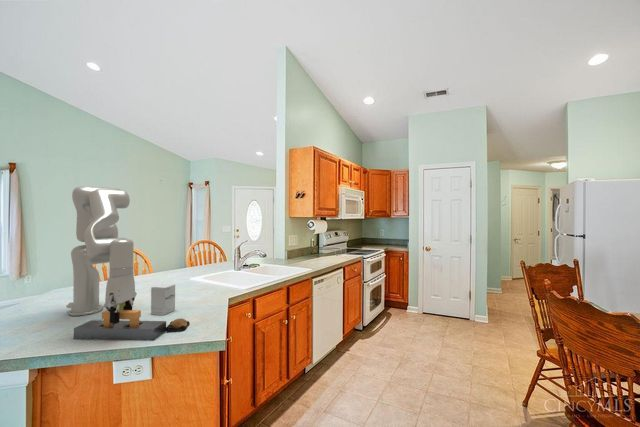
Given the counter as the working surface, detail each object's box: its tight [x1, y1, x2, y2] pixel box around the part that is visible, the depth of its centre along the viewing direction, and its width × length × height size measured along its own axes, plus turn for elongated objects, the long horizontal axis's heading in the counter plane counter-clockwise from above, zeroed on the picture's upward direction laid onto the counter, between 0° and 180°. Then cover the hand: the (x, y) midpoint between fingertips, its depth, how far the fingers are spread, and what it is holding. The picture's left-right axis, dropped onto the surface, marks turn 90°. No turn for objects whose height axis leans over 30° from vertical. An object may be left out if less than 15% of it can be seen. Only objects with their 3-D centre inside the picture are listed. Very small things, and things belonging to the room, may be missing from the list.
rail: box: [73, 319, 167, 341], centre depth 109 cm, size 30×8×4 cm, turn 88°
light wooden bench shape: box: [101, 309, 142, 327], centre depth 109 cm, size 13×3×8 cm, turn 89°
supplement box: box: [150, 283, 176, 316], centre depth 135 cm, size 7×7×13 cm
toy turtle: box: [165, 318, 190, 334], centre depth 117 cm, size 11×8×4 cm
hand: (121, 319), depth 109 cm, fingers open, 6 cm apart
